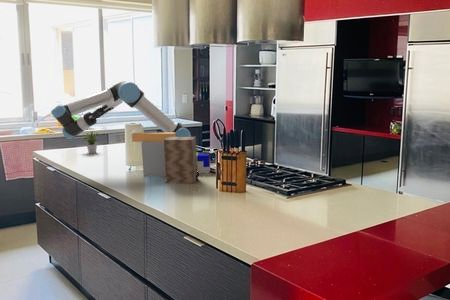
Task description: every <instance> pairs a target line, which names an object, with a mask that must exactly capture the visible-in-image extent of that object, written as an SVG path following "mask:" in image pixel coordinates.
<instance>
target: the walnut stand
mask: <svg viewBox="0 0 450 300" xmlns="http://www.w3.org/2000/svg"><path fill="white" fill-rule="evenodd" d="M164 151H165V169H166V176H165V181H166V183H167V184H194V183H196V181H197V180H196V175H197V176H198V173H197V155H196V152H197V136H191V137H167V138H166V139H164Z"/></svg>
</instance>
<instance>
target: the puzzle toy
mask: <svg viewBox="0 0 450 300" xmlns="http://www.w3.org/2000/svg"><path fill="white" fill-rule="evenodd" d="M196 155H197V171H198V172H199V173H198V174H202V173H205V174H206V173H207V174H208V173H210V172H211V152H210V151H196Z"/></svg>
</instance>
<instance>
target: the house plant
mask: <svg viewBox="0 0 450 300" xmlns="http://www.w3.org/2000/svg"><path fill="white" fill-rule="evenodd" d="M93 131H94V130H92V131H91V130H90V131H89V132H90V133H89V132H87V131H86V132H84V131H83V134H84V133H85V134H84V136H83V135H82V136H80V137H81V138H83V139H82V142H83V141H84V140H85V141H86V142H87V144H86V147H87V153H89V154H95V153H97V147H98V144H97V143H96V142H97V141H98V140H99V138H98V137H97V136H98V135H99V133H101V132H102V130H100V131H97V132H93ZM85 136H86V137H85ZM96 137H97V138H96Z"/></svg>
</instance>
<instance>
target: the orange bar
mask: <svg viewBox="0 0 450 300" xmlns="http://www.w3.org/2000/svg"><path fill="white" fill-rule="evenodd" d="M167 137H176V136H175V132H165V133H164V132H133V133H131V140H132V141H131V142H132V143H133V142H134V143H135V142H136V143H138V142H139V143H142V142H164V139H166V138H167Z"/></svg>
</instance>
